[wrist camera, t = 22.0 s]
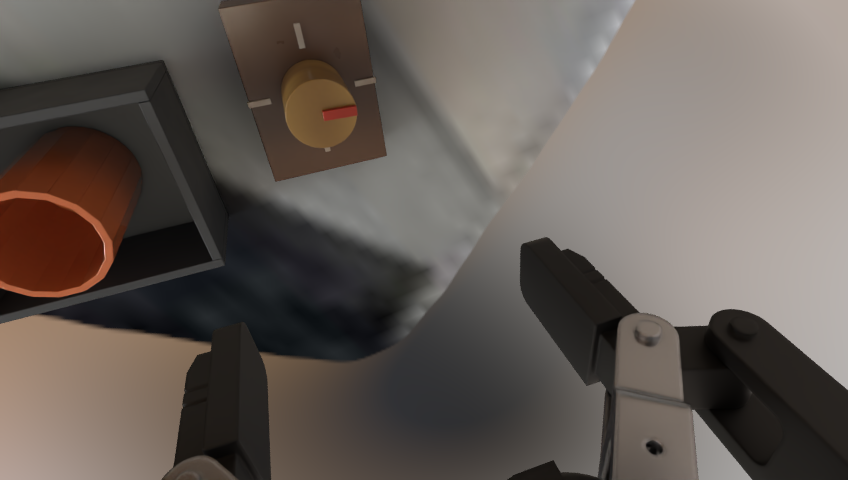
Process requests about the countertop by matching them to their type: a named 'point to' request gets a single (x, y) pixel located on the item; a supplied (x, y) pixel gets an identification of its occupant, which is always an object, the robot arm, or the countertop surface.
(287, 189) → the countertop surface
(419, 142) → the countertop surface
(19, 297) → the basin
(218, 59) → the countertop surface
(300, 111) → the tap knob
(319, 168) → the tap block
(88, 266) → the cup
